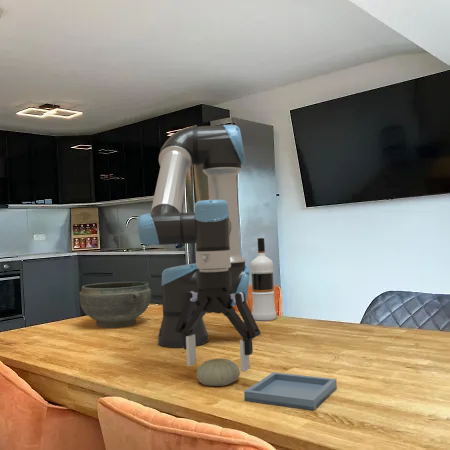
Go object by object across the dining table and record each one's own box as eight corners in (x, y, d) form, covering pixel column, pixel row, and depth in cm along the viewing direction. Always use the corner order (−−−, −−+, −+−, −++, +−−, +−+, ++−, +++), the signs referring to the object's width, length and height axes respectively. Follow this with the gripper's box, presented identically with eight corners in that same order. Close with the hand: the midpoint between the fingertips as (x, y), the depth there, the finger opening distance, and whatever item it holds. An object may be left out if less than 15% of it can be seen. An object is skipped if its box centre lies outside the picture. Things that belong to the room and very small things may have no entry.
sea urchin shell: (192, 369, 115) (216, 342, 115) (217, 392, 115) (241, 365, 116) (193, 380, 106) (219, 352, 106) (220, 405, 106) (246, 377, 107)
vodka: (263, 322, 180) (259, 238, 181) (246, 319, 187) (243, 238, 188) (282, 318, 186) (278, 237, 186) (265, 316, 193) (261, 237, 194)
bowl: (170, 323, 185) (168, 282, 186) (106, 335, 168) (105, 290, 168) (124, 315, 209) (123, 279, 209) (64, 324, 192) (63, 285, 192)
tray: (244, 400, 98) (244, 391, 98) (273, 380, 110) (273, 372, 110) (313, 410, 91) (313, 400, 91) (336, 387, 103) (336, 379, 103)
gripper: (157, 271, 114) (161, 366, 113) (257, 271, 102) (262, 377, 101) (176, 269, 120) (180, 358, 120) (272, 268, 108) (277, 368, 108)
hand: (217, 367), depth 111 cm, fingers open, 13 cm apart
